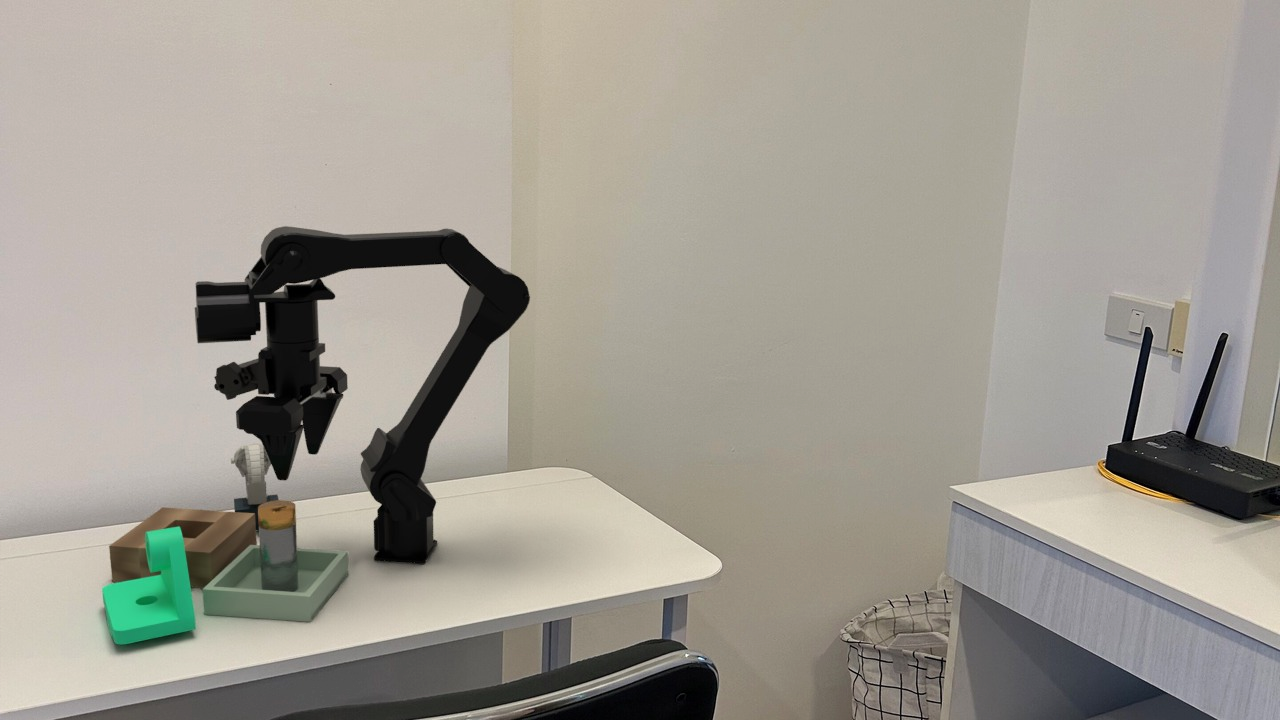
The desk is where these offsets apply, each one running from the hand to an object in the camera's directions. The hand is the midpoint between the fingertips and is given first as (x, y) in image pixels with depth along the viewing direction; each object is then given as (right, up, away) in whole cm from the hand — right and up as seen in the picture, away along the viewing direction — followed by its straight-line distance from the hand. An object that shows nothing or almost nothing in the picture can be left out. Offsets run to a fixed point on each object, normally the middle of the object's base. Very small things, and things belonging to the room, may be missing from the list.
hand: (298, 466), depth 125 cm
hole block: (-14, -12, +3) cm, 19 cm away
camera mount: (-13, -16, -11) cm, 23 cm away
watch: (-11, -9, +16) cm, 21 cm away
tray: (-1, -14, -4) cm, 15 cm away
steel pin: (-1, -14, -4) cm, 14 cm away
